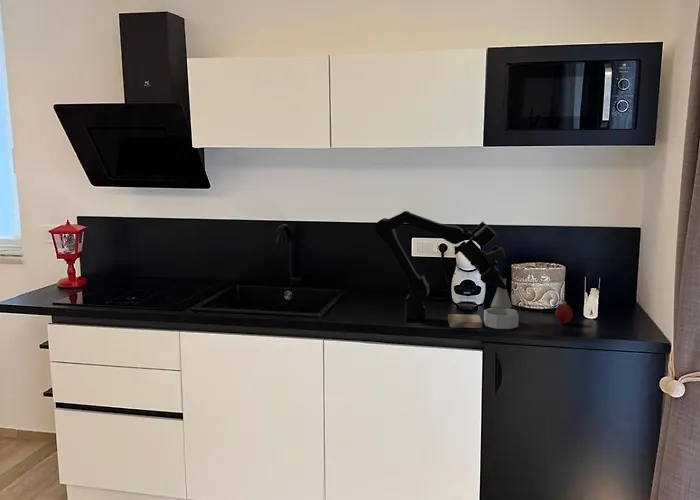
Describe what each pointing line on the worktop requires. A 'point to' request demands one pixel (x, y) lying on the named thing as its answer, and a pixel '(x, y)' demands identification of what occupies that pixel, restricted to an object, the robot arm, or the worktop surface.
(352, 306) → the worktop surface
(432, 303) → the worktop surface
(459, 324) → the oak board
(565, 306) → the onion
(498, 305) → the flask
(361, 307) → the worktop surface
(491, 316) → the collar
